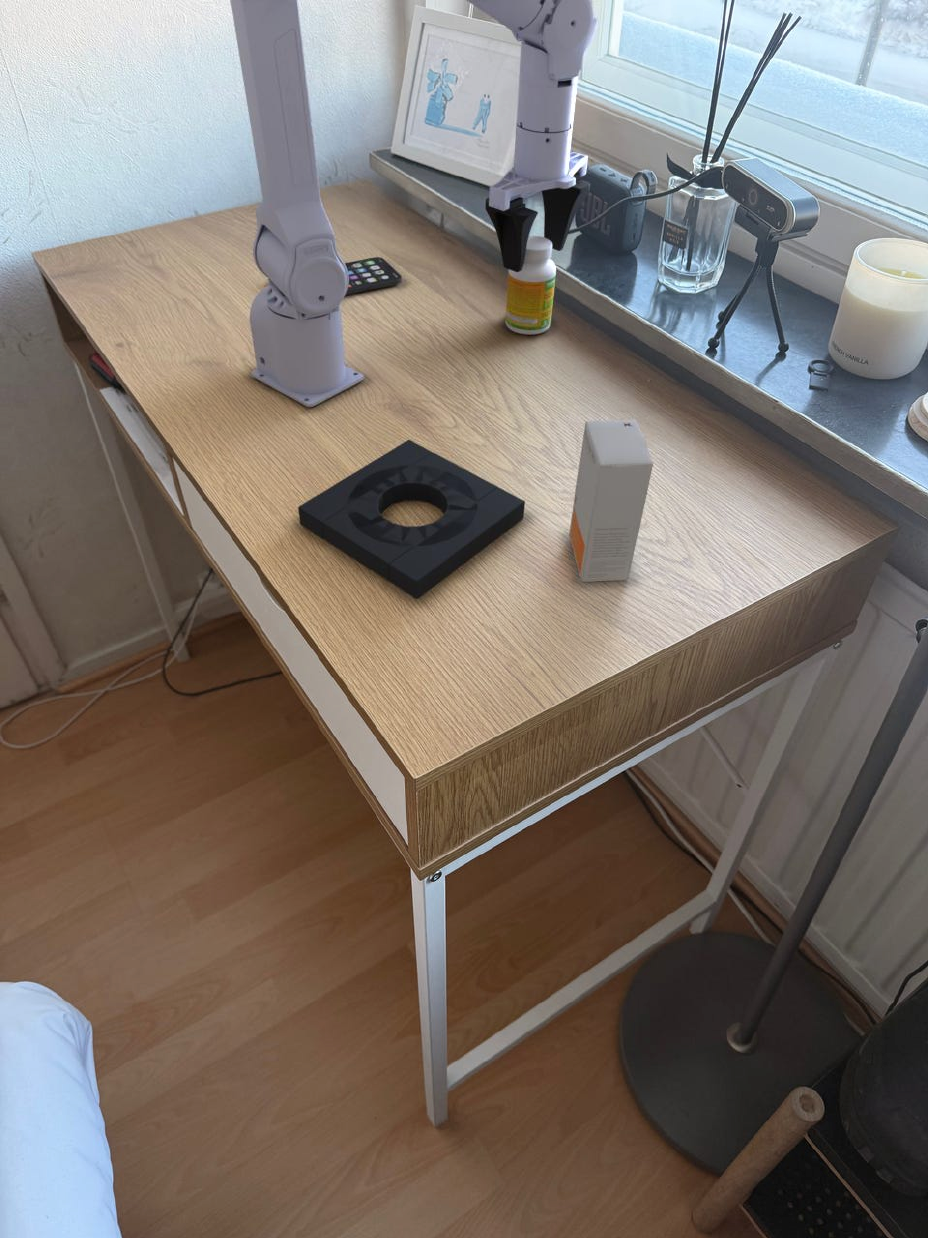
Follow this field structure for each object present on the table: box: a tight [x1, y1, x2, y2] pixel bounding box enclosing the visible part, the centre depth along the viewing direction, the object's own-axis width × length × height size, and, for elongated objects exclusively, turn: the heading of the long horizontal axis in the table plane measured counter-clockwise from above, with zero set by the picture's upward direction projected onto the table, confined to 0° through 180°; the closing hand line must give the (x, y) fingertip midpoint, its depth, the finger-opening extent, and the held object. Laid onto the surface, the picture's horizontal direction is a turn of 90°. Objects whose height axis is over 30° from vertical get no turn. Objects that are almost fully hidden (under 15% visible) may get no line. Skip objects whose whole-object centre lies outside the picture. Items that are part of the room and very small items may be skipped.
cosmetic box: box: [568, 419, 654, 583], centre depth 70 cm, size 6×4×12 cm
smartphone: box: [344, 256, 403, 296], centre depth 109 cm, size 7×1×15 cm
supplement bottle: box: [504, 235, 557, 335], centre depth 99 cm, size 5×5×10 cm
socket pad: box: [297, 439, 526, 600], centre depth 76 cm, size 14×14×2 cm
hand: (533, 258), depth 97 cm, fingers open, 7 cm apart
